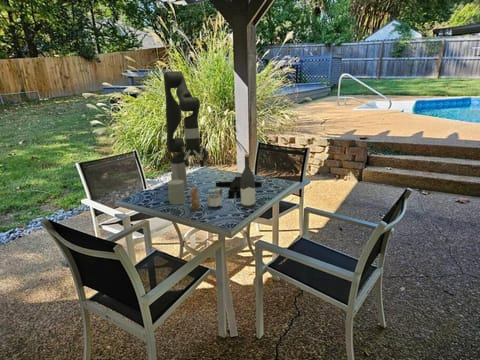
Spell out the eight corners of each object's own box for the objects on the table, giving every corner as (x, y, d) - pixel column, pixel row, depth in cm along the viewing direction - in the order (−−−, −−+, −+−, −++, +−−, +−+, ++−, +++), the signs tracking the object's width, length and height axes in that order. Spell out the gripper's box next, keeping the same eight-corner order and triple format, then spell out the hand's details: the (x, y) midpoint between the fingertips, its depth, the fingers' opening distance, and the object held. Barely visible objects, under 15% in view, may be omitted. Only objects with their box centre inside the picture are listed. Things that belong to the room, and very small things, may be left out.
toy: (209, 190, 190) (218, 175, 219) (210, 199, 192) (218, 182, 220) (260, 190, 187) (261, 175, 216) (260, 199, 189) (262, 182, 217)
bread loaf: (191, 210, 176) (189, 190, 172) (193, 207, 179) (191, 187, 175) (197, 210, 175) (196, 190, 171) (200, 207, 178) (198, 187, 175)
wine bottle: (253, 201, 184) (252, 151, 175) (256, 207, 176) (255, 155, 167) (240, 203, 183) (238, 152, 173) (242, 208, 175) (240, 156, 166)
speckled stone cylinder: (166, 201, 190) (164, 181, 186) (181, 197, 195) (179, 178, 191) (173, 205, 182) (171, 185, 178) (188, 201, 188) (186, 182, 184)
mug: (206, 209, 176) (205, 196, 173) (213, 200, 188) (212, 187, 185) (219, 210, 174) (218, 196, 171) (225, 201, 186) (225, 188, 184)
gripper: (176, 137, 163) (179, 168, 168) (202, 138, 160) (204, 168, 165) (182, 135, 170) (185, 164, 175) (207, 135, 167) (209, 165, 172)
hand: (194, 166), depth 170 cm, fingers open, 8 cm apart
